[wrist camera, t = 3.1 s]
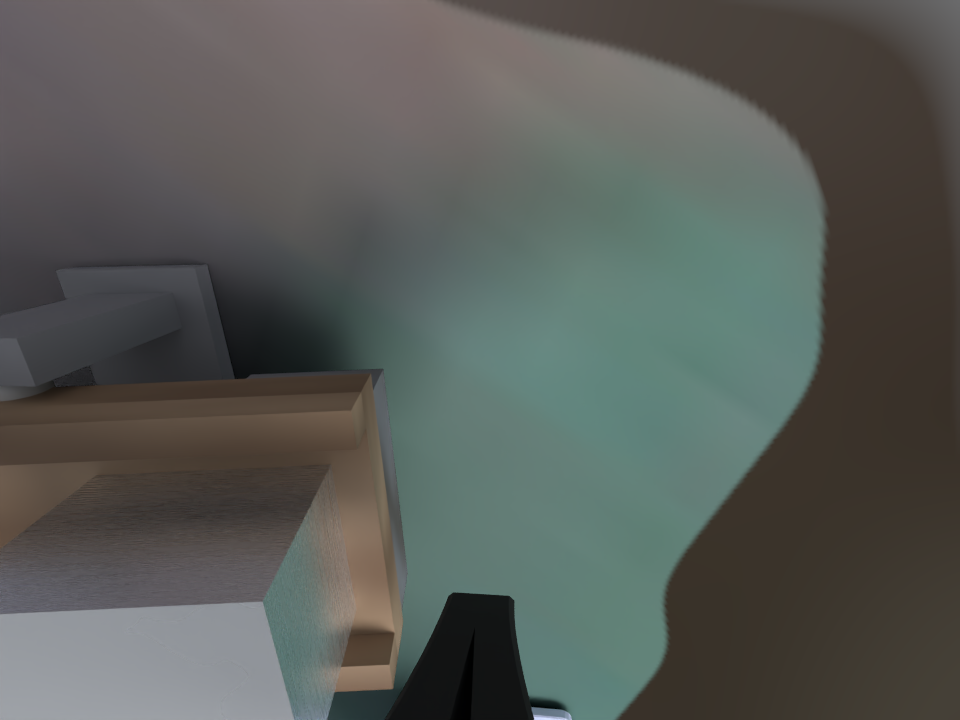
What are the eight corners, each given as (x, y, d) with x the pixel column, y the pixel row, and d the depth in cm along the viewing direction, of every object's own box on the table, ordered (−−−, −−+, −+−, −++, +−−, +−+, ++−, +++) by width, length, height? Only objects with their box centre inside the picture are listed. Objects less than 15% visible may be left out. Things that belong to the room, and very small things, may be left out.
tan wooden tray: (409, 591, 17) (391, 720, 13) (-192, 621, 17) (-406, 761, 13) (379, 340, 14) (341, 406, 10) (-375, 373, 13) (-748, 453, 9)
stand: (285, 587, 20) (200, 724, 15) (180, 581, 21) (63, 710, 16) (207, 264, 15) (41, 303, 10) (72, 267, 16) (-149, 306, 11)
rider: (356, 609, 14) (310, 780, 10) (152, 619, 14) (21, 796, 10) (330, 464, 12) (262, 601, 8) (96, 475, 12) (-92, 618, 8)
